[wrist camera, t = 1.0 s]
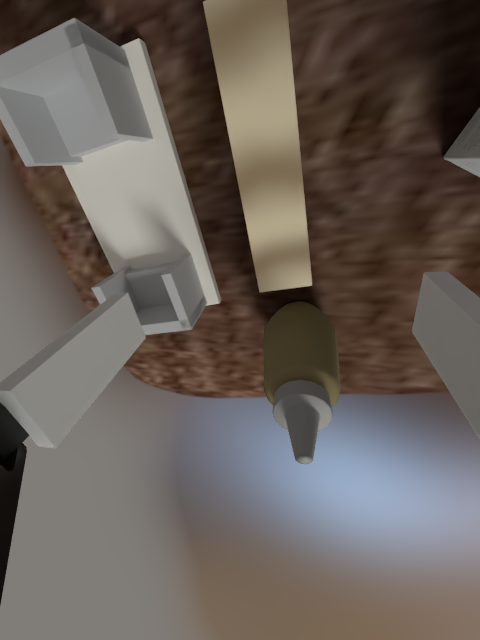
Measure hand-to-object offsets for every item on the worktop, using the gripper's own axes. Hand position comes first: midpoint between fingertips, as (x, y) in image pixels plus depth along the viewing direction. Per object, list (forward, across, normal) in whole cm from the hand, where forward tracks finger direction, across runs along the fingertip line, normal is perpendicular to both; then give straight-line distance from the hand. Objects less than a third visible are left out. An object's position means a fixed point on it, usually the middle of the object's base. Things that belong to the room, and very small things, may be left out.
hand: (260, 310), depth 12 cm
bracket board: (+18, -15, +3) cm, 24 cm away
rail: (+19, 0, +5) cm, 19 cm away
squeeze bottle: (+18, +1, -12) cm, 22 cm away
